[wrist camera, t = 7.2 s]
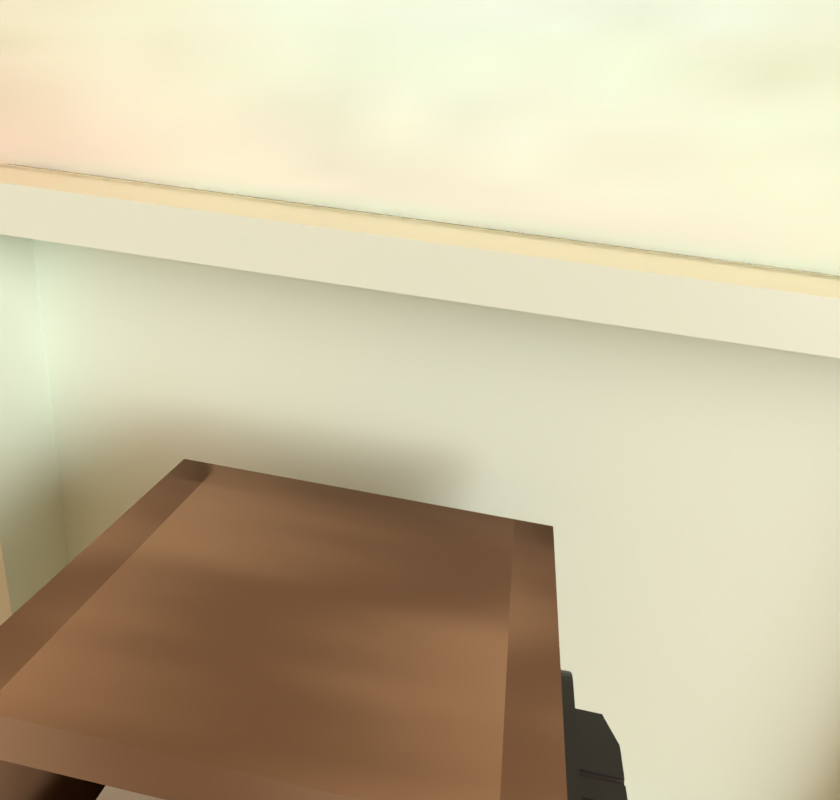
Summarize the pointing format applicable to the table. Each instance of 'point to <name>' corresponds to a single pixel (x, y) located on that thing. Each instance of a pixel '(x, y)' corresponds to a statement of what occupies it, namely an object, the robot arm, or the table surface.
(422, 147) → the table surface
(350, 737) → the open drawer box
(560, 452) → the tray
